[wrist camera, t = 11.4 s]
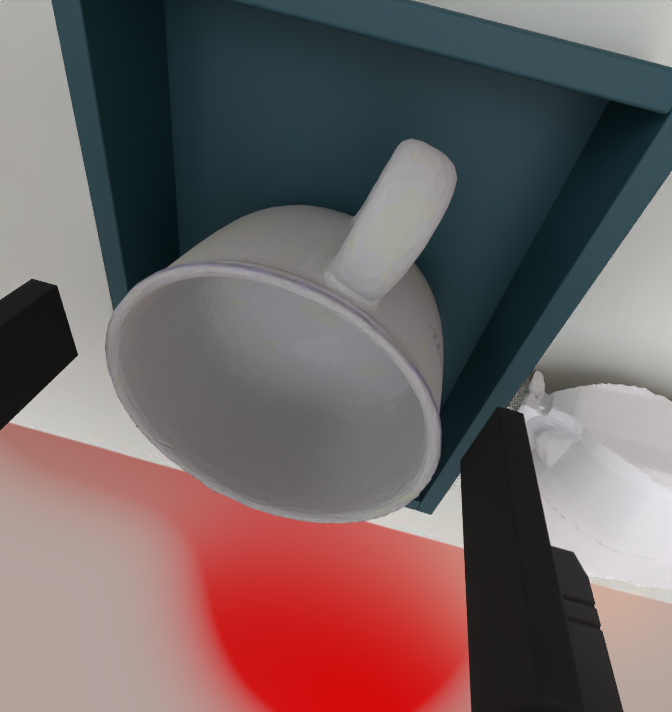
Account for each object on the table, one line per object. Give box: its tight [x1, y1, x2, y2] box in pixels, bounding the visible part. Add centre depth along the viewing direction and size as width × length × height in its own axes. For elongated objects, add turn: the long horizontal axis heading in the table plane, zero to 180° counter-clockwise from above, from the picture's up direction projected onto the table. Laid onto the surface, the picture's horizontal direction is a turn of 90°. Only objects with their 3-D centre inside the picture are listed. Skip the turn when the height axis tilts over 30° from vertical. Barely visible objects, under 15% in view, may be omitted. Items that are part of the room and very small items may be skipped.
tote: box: [52, 0, 672, 515], centre depth 17 cm, size 16×19×5 cm
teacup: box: [105, 139, 457, 523], centre depth 15 cm, size 14×11×8 cm
